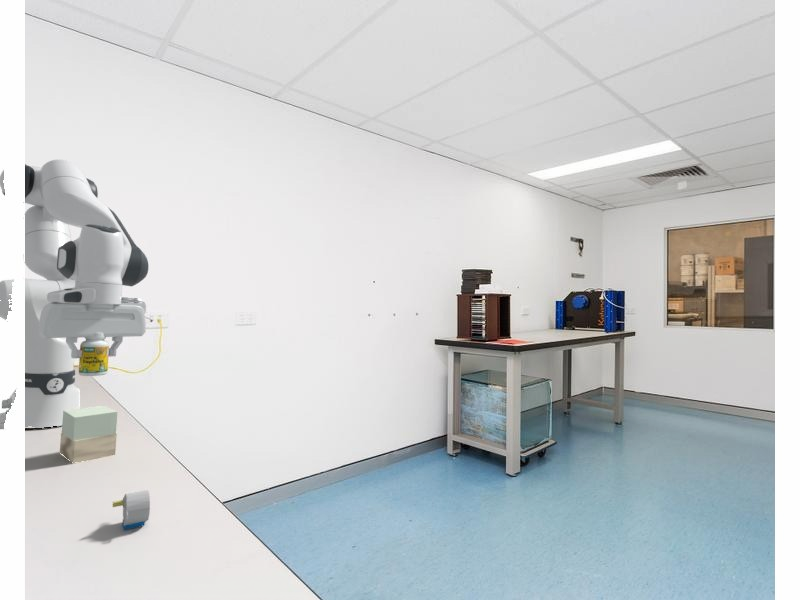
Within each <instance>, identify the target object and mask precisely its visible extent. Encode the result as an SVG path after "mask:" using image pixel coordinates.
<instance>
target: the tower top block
mask: <svg viewBox="0 0 800 600" xmlns="http://www.w3.org/2000/svg"><path fill="white" fill-rule="evenodd" d="M117 422H118V411H117V410H114V409H113V408H110V407H108V406H106V405H105V404H104V405H96V406H89V407H80V408H78V409H70V410H63V421H62V426H61V433H63V434H64V435H65V436H67V437H68V438H70V439H71V440H72V441H77V440H83V439H89V438H95V437H100V436H106V435H112V434H116V433H117V425H118V424H117Z"/></svg>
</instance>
